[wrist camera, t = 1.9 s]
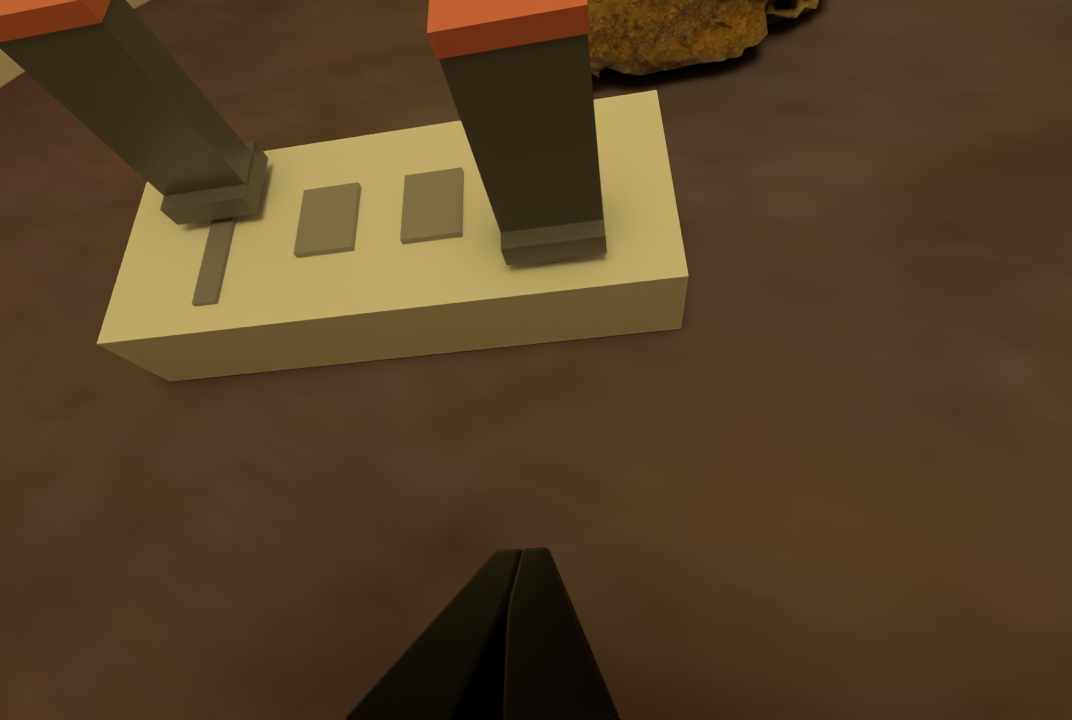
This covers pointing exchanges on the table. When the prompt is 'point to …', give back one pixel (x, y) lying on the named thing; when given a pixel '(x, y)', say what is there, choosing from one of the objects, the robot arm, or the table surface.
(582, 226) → the switch
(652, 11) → the decorative rock
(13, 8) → the switch
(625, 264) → the cream lever base
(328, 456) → the table surface
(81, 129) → the table surface
